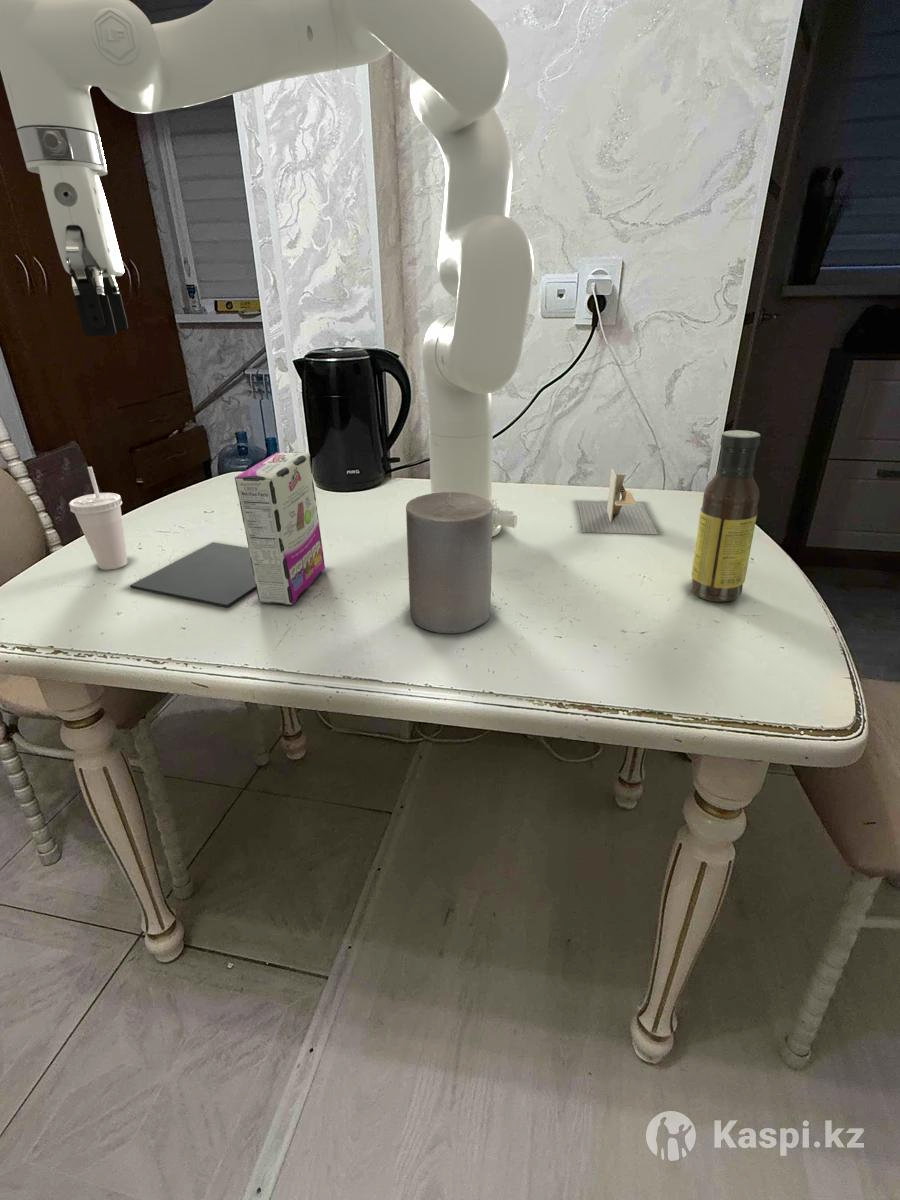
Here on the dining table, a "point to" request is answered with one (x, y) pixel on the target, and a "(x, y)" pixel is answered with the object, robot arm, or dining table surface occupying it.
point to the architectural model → (616, 512)
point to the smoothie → (102, 525)
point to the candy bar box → (281, 526)
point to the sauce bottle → (727, 520)
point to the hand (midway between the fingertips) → (108, 332)
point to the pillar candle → (449, 560)
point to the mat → (205, 576)
